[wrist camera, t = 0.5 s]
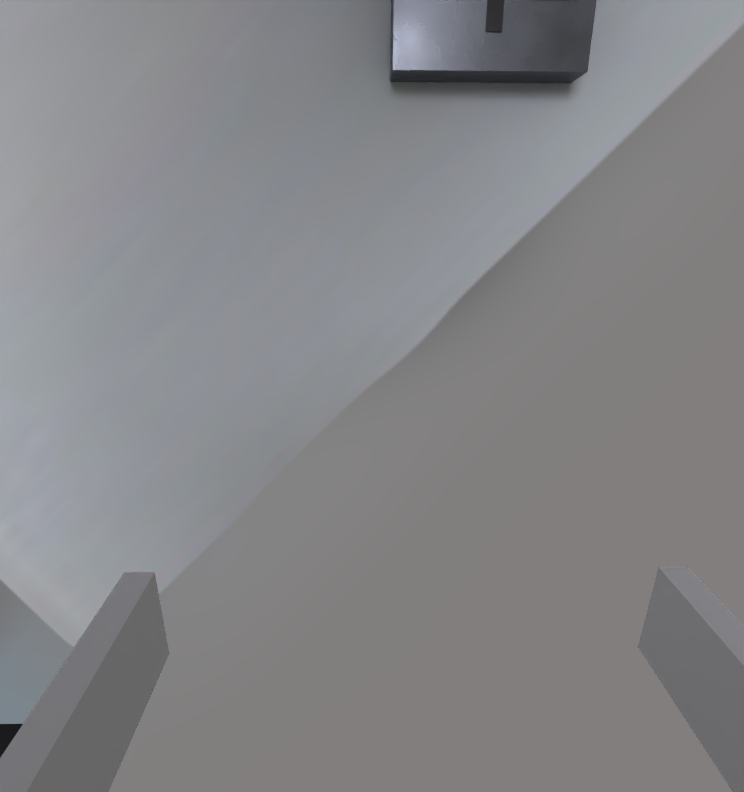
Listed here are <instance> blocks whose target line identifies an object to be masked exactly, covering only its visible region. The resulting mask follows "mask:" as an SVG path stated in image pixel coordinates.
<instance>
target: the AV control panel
mask: <svg viewBox="0 0 744 792" xmlns="http://www.w3.org/2000/svg"><path fill="white" fill-rule="evenodd" d="M595 7H596V0H391V72H390V82H481V83H572V82H573V81H575V80H576V79H577V78H579V77H580V76H582V75H583V74H585V73H586V72H587V70H588V62H589V54H590V46H591V38H592V30H593V23H594V15H595Z"/></svg>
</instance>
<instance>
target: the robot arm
mask: <svg viewBox="0 0 744 792" xmlns="http://www.w3.org/2000/svg"><path fill="white" fill-rule="evenodd" d="M638 648H639V649H640V651H641V652H642V654H643V655H644V657H645V658H646V660H647V661H648V663H649V664H650V666H651V667H652V669H653V670H654V672H655V674H656V675H657V677H658V678H659V680H660V681H661V683H662V684H663V686H664V687H665V689H666V690H667V692H668V693H669V695H670V696H671V698H672V699H673V701H674V703H675V704H676V705H677V707H678V709H679V710H680V712H681V713H682V715H683V716H684V718H685V719H686V721H687V722H688V724H689V726H690V727H691V729H692V730H693V732H694V733H695V735H696V736H697V738H698V739H699V741H700V742H701V744H702V745H703V747H704V749H705V750H706V751H707V753H708V754H709V756H710V758H711V759H712V761H713V762H714V764H715V765H716V767H717V768H718V770H719V771H720V773H721V775H722V776H723V778H724V779H725V781H726V782H727V784H728V785H729V787H730V788H731V790H732V791H733V792H744V626H743V625H742V624H741V623H740V622H739V621H738V620H737V619H736V618H735V617H734V616H733V615H732V614H731V612H730V611H729V610H728V609H727V608H726V607H725V606H724V605H723V604H722V603H721V602H720V601H719V600H718V599H717V598H716V597H715V596H714V595H713V593H711V591H710V590H709V589H708V588H707V587H706V586H705V585H704V584H703V583H702V582H701V581H700V580H699V579H698V578H697V577H696V576H695V574H693V572H692V571H691V570H690V569H689V568H688V567H658V571H657V575H656V579H655V583H654V587H653V591H652V594H651V598H650V602H649V606H648V610H647V614H646V618H645V622H644V626H643V630H642V633H641V637H640V641H639V645H638ZM168 655H169V650H168V645H167V639H166V633H165V628H164V622H163V617H162V611H161V605H160V600H159V594H158V589H157V583H156V578H155V572H130V573H124V574H123V575H122V577H121V578H120V580H119V581H118V583H117V584H116V586H115V587H114V589H113V590H112V592H111V593H110V595H109V596H108V598H107V599H106V601H105V602H104V604H103V605H102V607H101V608H100V610H99V611H98V613H97V614H96V616H95V617H94V619H93V620H92V622H91V623H90V625H89V626H88V628H87V629H86V631H85V632H84V634H83V635H82V636H81V638H80V639H79V641H78V642H77V644H76V645H75V647H74V648H73V650H72V651H71V653H70V654H69V656H68V658H67V659H66V661H65V662H64V663H63V665H62V666H61V668H60V669H59V671H58V673H57V674H56V675H55V677H54V678H53V680H52V681H51V683H50V684H49V686H48V687H47V689H46V690H45V692H44V693H43V695H42V696H41V698H40V699H39V701H38V702H37V704H36V705H35V707H34V708H33V710H32V711H31V713H30V714H29V716H28V717H27V719H26V720H25V722H24V723H23V724H0V792H108V791H109V789H110V787H111V784H112V782H113V780H114V778H115V776H116V773H117V771H118V769H119V766H120V764H121V762H122V760H123V757H124V755H125V753H126V751H127V748H128V746H129V744H130V741H131V739H132V737H133V735H134V732H135V730H136V728H137V726H138V723H139V721H140V719H141V717H142V714H143V712H144V710H145V707H146V705H147V703H148V701H149V698H150V696H151V694H152V692H153V689H154V687H155V685H156V682H157V680H158V678H159V676H160V673H161V671H162V669H163V667H164V664H165V662H166V660H167V657H168Z"/></svg>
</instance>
